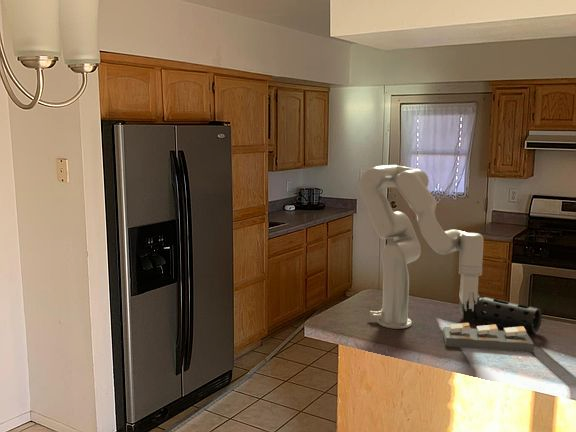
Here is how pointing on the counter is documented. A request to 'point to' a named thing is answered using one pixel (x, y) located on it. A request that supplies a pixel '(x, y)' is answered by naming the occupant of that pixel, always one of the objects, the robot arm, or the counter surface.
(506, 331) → the switch right
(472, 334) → the switch unit
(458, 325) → the switch left
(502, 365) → the counter surface
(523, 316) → the muzzle brake
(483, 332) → the switch middle
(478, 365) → the counter surface
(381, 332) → the counter surface
